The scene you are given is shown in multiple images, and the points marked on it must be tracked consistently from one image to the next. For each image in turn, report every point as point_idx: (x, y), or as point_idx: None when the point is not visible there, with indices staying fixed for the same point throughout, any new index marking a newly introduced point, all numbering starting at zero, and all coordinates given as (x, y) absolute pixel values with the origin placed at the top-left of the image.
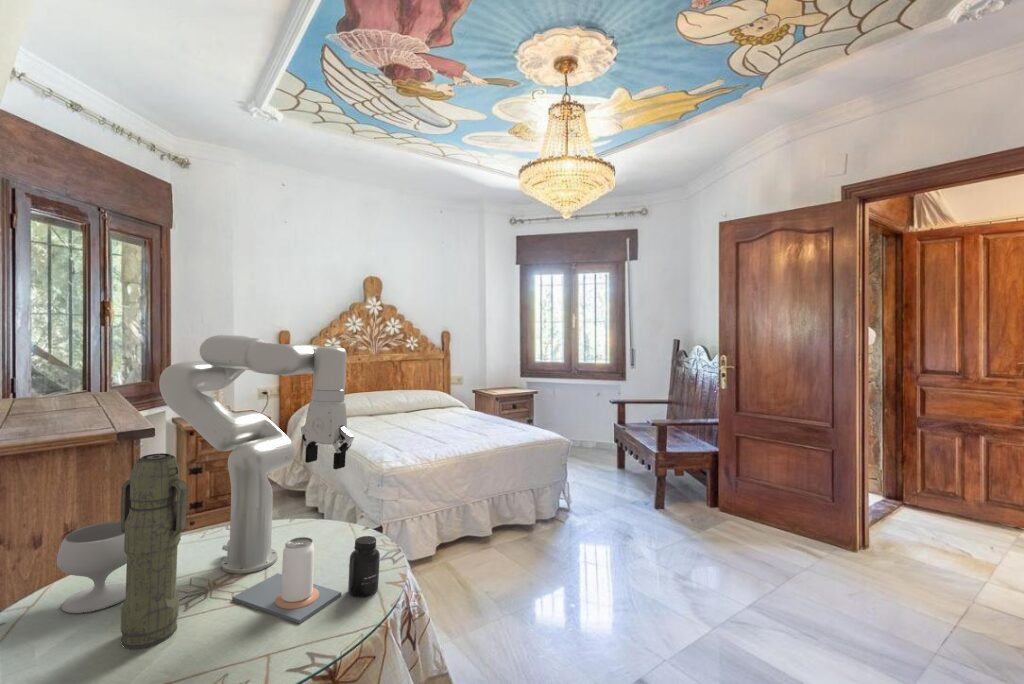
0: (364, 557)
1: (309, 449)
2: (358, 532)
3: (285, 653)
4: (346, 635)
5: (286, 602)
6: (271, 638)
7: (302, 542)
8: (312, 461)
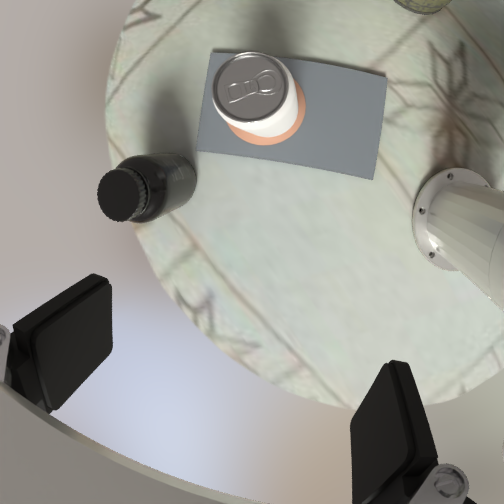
0: (120, 166)
1: (397, 448)
2: (317, 388)
3: (187, 2)
4: (130, 65)
5: None
6: (230, 14)
7: (244, 95)
8: (370, 397)
